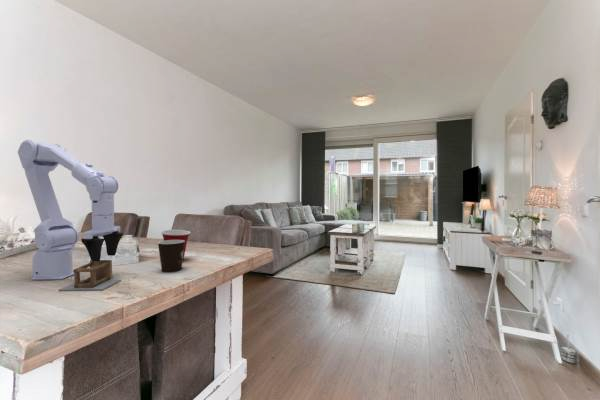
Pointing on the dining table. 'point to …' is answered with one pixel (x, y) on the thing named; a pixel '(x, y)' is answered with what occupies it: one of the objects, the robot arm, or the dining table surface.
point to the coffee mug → (171, 255)
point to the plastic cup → (176, 236)
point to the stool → (94, 273)
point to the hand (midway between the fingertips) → (103, 258)
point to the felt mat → (98, 287)
